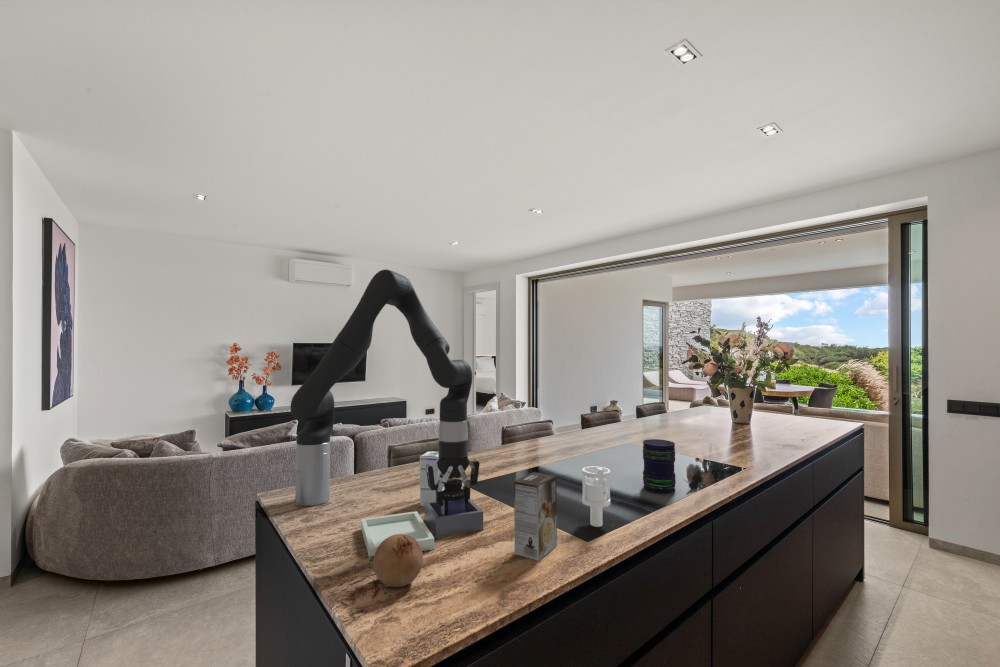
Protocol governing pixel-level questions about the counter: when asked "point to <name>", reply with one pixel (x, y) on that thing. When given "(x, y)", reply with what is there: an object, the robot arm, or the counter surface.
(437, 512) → the holder
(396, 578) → the onion
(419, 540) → the tray
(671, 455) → the storage jar
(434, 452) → the syrup box
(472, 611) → the counter surface
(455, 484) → the pill bottle
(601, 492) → the white cylindrical cage part
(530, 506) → the coffee box
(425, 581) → the counter surface
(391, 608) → the counter surface
